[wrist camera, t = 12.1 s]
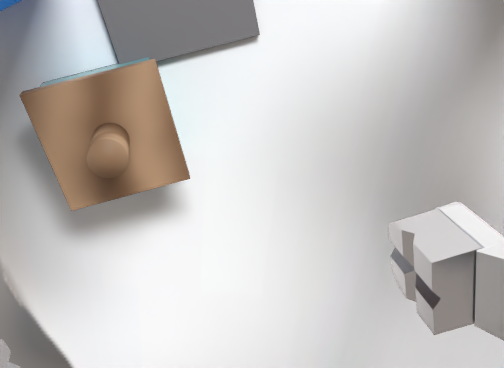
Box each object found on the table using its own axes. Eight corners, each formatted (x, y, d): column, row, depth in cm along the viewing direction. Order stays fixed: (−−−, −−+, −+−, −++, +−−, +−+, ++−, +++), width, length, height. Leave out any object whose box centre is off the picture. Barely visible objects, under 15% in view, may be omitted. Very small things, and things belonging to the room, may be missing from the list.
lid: (154, 58, 36) (156, 74, 32) (189, 173, 41) (194, 201, 37) (22, 91, 36) (5, 112, 31) (72, 205, 40) (64, 237, 36)
